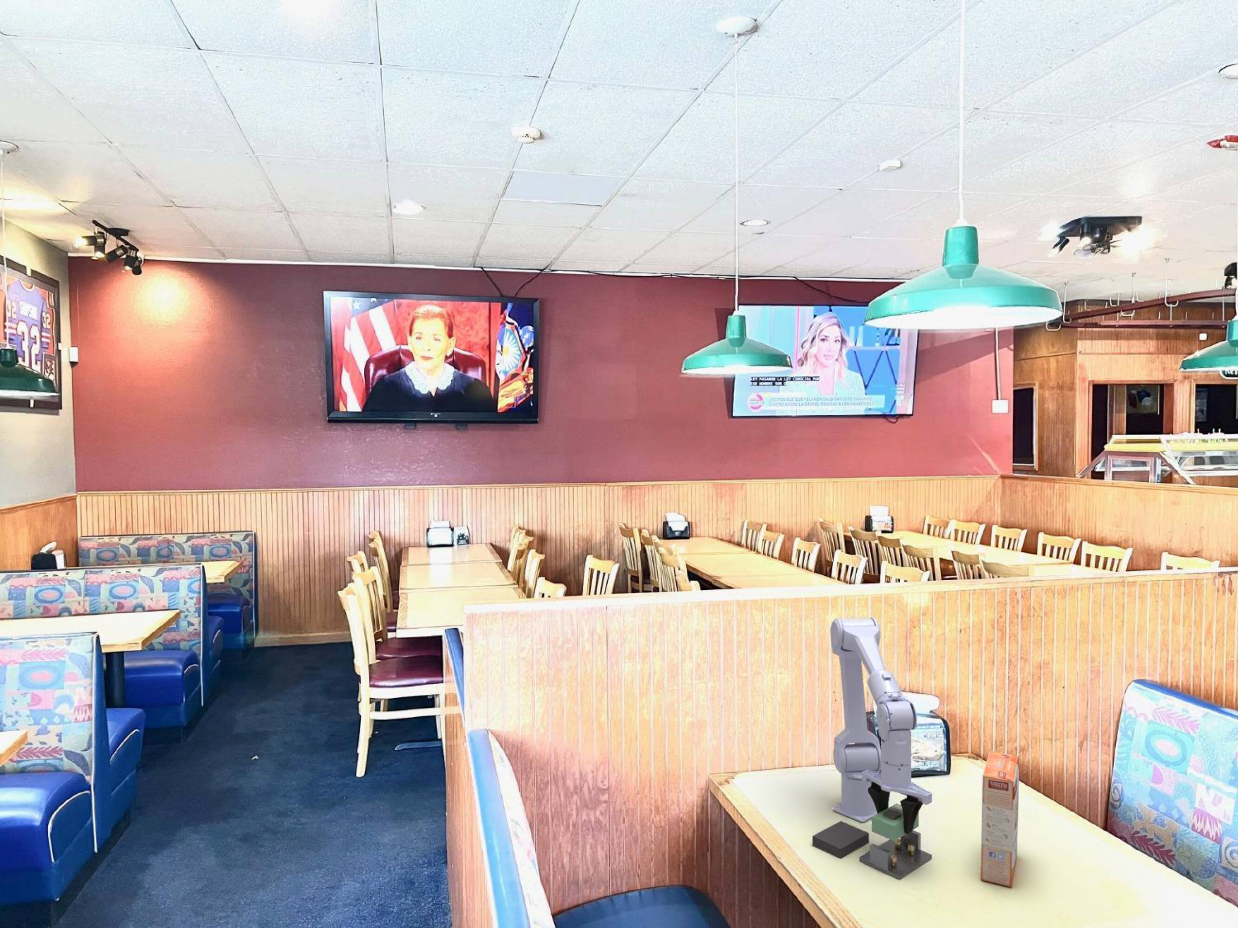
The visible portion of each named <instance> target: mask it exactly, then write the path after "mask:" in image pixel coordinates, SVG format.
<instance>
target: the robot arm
mask: <svg viewBox="0 0 1238 928" xmlns="http://www.w3.org/2000/svg"><path fill="white" fill-rule="evenodd" d="M829 632H830V644H831V645H830V646H831V649H832V654H834V655H836V656H838V658H839V666H840V678H841V691H842V692H841V693H842V702H843V703H842V704H843V714H844V715H843V716H844V729H843V730H842V731H840V733H838V734H837V735H836V736H835V737H834V740H833V752H832V753H833V755H832V756H833V763H834V766H835V769H836V770H837V771H838V773H839V774H841V775H840V776H841V783H840V785H841V789H840V791H841V798H840V799H841V803H840V804H838V805H837V806H834V807H833V809H832V810H833V811H835V812H837V813H839V814H841V815H843V816H845V817H848V818H851V819H853V820H855V821H858V822H860V823H865V822H866V821H869V820H870V819H872V816H874V815H876V814H878V813H880V812H882V811H883V810H885V809H887V808H889V807H890V805H889V803H890V795H891V792H894V793H898V794H901V795H903V796H905V798H903V799H900V800H899V802H900V805H901V806H902V810H903V817H904V833H906V834H909V833H910V832H912V831H913V827H914V823H915V820H916V817H917V814H918V812H919V813H920V810H921V808H922V807H923V805H925V806H928V805H929V804H931V803H932V802H933V793H932V792H931V791H929V790H926V789H924V788H923V787H921V786H920V785H918V784H916V783H915V782H913V781H912V731H913V730H915V729H916V727H917V725H918V724H917V722H918V716H917V715H918V714H917V711H916V708H915V706H914V703H913V701H911V700H910V699H909V698H908V697H907V696H906V695H905V696H904V695H903V693H902V690H901V687H900V686H899V684H898V681H897V680H896V677H895V675H894V674H893V672H892V671H889V670H886V665H885V663H884V660H883V657H882V655H881V651H880V647H879V645H880V642H881V628H880V624H879V622H878V621H877V620H876V618H875V617H869V618H868V617H867V618H834V619H833V621H832V622H831V626H830V628H829ZM863 666H864V668H865V669H866V670H865V671H866V672H867V674H868V678H867V681H866V682H867V683H866V684H867V686H868V689H869V691H870V694H871V696H872V699H873V701H874V703H875V706H876V711H875V716H876V721H877V726H878V736H879V737H880V740H879V737H877V736H876V735H875V734H874V733H873V732H871V731H870V730H868V722H867V721H868V720H867V710H866V709H867V708H866V698H865V688H864V675H863ZM911 730H912V731H911ZM880 741H881V742H880ZM880 744H881V745H880Z"/></svg>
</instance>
